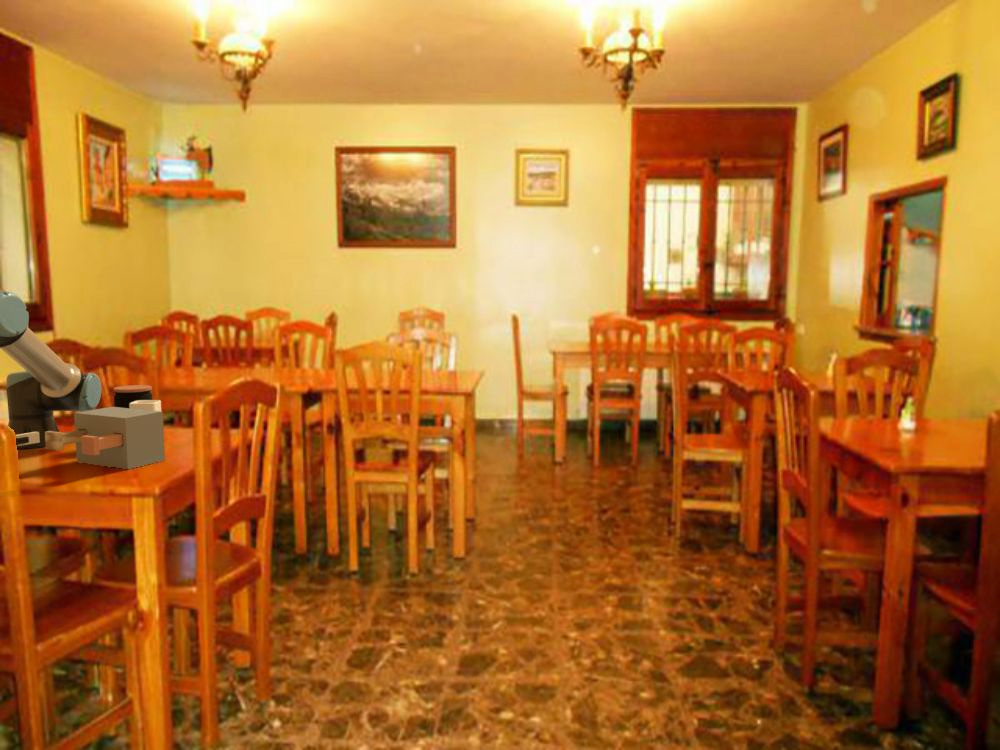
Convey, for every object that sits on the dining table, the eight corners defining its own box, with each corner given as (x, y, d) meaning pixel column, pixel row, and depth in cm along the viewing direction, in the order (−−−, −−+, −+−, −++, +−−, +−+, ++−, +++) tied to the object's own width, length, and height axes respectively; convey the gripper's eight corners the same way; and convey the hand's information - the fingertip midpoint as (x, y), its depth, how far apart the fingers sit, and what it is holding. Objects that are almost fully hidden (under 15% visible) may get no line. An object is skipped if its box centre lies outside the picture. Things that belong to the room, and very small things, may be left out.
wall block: (77, 462, 203) (73, 412, 201) (115, 454, 214) (112, 406, 212) (128, 469, 195) (125, 418, 193) (165, 460, 206) (162, 411, 204)
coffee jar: (153, 446, 224) (150, 388, 222) (114, 449, 220) (111, 390, 218) (155, 440, 234) (153, 384, 232) (118, 442, 230) (115, 385, 228)
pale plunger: (45, 448, 194) (44, 431, 193) (89, 440, 205) (88, 424, 205) (57, 450, 192) (56, 433, 192) (100, 441, 203) (99, 425, 203)
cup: (140, 448, 222) (137, 400, 220) (164, 448, 222) (162, 399, 220) (129, 453, 214) (127, 403, 213) (155, 453, 215) (152, 403, 213)
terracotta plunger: (81, 453, 188) (80, 436, 188) (124, 444, 200) (123, 428, 199) (94, 455, 186) (93, 437, 186) (136, 446, 198) (135, 429, 197)
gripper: (-79, 467, 171) (22, 449, 192) (-45, 473, 165) (55, 453, 187) (-82, 435, 170) (20, 420, 191) (-48, 440, 165) (53, 424, 186)
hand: (37, 437), depth 189 cm, fingers closed
